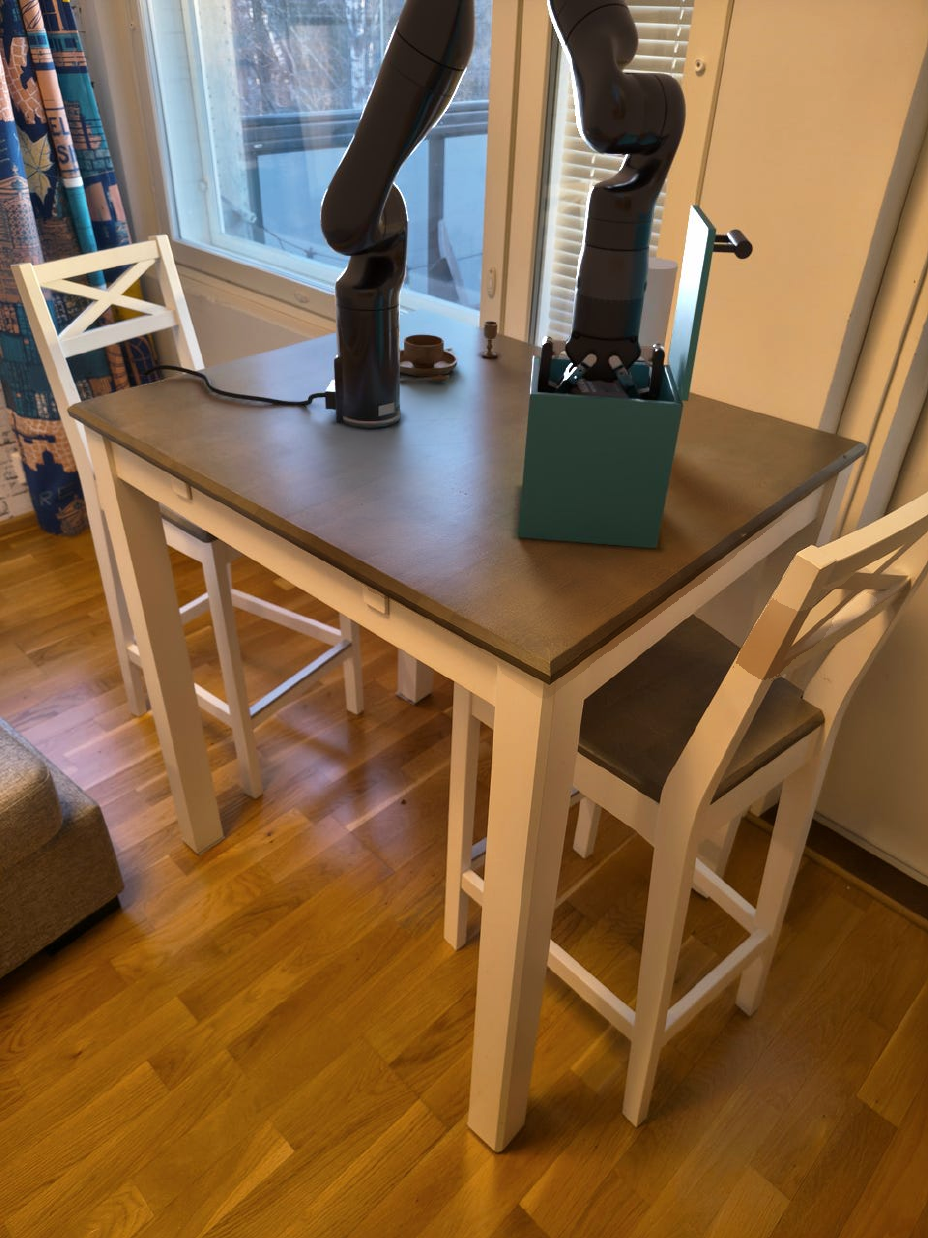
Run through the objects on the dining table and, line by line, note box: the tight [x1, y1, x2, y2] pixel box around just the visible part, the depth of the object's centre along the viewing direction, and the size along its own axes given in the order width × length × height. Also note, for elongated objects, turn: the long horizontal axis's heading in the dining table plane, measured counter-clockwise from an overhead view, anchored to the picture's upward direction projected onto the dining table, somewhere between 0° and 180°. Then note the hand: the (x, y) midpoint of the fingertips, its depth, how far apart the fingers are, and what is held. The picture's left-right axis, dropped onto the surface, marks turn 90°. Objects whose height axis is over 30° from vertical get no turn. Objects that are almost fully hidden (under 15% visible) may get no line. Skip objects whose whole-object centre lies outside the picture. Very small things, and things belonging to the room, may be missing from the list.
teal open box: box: [517, 355, 684, 549], centre depth 107 cm, size 17×14×18 cm
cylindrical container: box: [635, 256, 679, 363], centre depth 127 cm, size 7×7×25 cm
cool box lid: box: [667, 204, 754, 402], centre depth 96 cm, size 17×14×5 cm
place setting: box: [400, 320, 498, 382], centre depth 155 cm, size 18×20×6 cm
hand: (592, 430), depth 105 cm, fingers open, 7 cm apart
